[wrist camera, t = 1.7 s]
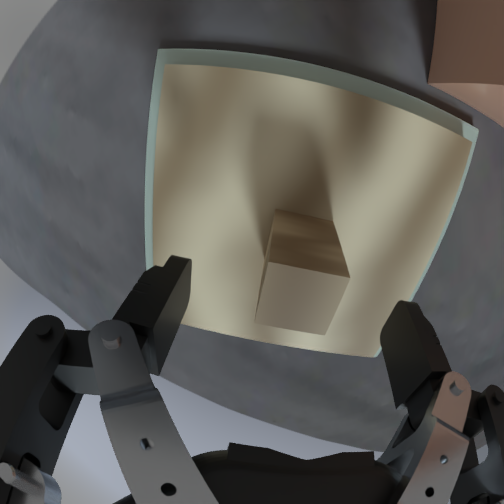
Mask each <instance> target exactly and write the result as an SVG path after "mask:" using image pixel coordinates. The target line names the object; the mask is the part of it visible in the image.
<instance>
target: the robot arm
mask: <svg viewBox="0 0 504 504" xmlns="http://www.w3.org/2000/svg"><path fill="white" fill-rule="evenodd" d="M191 273H192V260H191V259H189V258H184V257H180V256H175V255H171V256H170V257H169V258H168V260H167V261H166V263H165V265H164V266H163V267H161V266H157V265H155V266H153V267H151V268H150V269H148V270H147V271H145V272H144V273H143V274H142V276H141V277H140V279H139V280H138V283H136V284H135V286H134V287H133V290H132V291H131V292H130V293H129V295H128V296H127V298H126V299H125V301H124V302H123V304H122V305H121V307H120V308H119V310H118V311H117V313H116V314H115V316H114V317H113V319H112V320H106V321H102V322H100V323H98V324H97V325H95V326H94V327H93V328H92V330H91V331H82V330H68V329H65V327H64V325H63V322H62V321H61V320H60V319H59V318H58V317H55V316H52V315H44V316H40V317H38V318H36V319H34V320H33V321H31V322H30V323H29V325H28V326H27V328H26V329H25V330H24V332H23V333H22V335H21V336H20V338H19V339H18V340H17V342H16V343H15V345H14V346H13V348H12V349H11V351H10V352H9V354H8V355H7V357H6V359H5V360H4V362H3V363H2V365H1V366H0V504H61V490H60V487H59V485H58V483H57V482H56V481H55V479H54V478H53V477H52V474H53V471H54V468H55V465H56V462H57V459H58V457H59V453H60V450H61V448H62V446H63V443H64V440H65V438H66V435H67V433H68V430H69V428H70V425H71V423H72V420H73V418H74V415H75V413H76V411H77V408H78V406H79V404H80V401H81V399H82V396H83V395H84V394H92V395H100V397H101V401H100V408H101V411H102V415H103V419H104V422H105V425H106V428H107V432H108V435H109V438H110V441H111V443H112V447H113V449H114V452H115V455H116V458H117V460H118V463H119V465H120V468H121V470H122V473H123V475H124V478H125V480H126V482H127V485H128V487H129V489H130V491H131V494H130V495H128V496H126V497H124V498H123V499H121V500H119V501H117V502H115V503H113V504H447V503H448V501H449V498H450V501H451V504H504V392H503V391H502V390H501V389H500V388H499V387H498V386H495V385H490V386H488V387H487V388H486V389H485V390H484V391H483V392H482V393H480V392H477V391H473V390H471V387H470V385H469V383H468V381H467V380H466V378H465V377H464V376H462V375H461V374H459V373H457V372H452V370H451V368H450V365H449V363H448V360H447V358H446V356H445V353H444V351H443V348H442V346H441V345H440V341H439V339H438V337H436V336H437V335H436V333H435V330H434V328H433V326H432V325H431V323H430V322H429V321H428V320H427V319H426V318H425V316H424V315H423V313H422V311H421V309H420V307H419V305H418V304H417V303H415V302H409V301H403V300H400V301H398V302H397V304H396V305H395V307H394V309H393V310H392V312H391V314H390V316H389V317H388V319H387V321H386V323H385V324H384V326H383V328H382V330H381V333H380V344H381V348H382V351H383V355H384V359H385V363H386V367H387V371H388V375H389V380H390V384H391V388H392V393H393V397H394V402H395V407H396V409H408V413H407V414H406V415H405V416H404V418H403V419H402V421H401V423H400V425H399V427H398V429H397V431H396V433H395V435H394V436H393V438H392V440H391V442H390V443H389V445H388V447H387V449H386V450H385V452H384V453H383V454H382V456H381V457H380V458H378V460H376V461H375V460H374V451H371V452H342V453H338V454H334V455H330V456H325V457H321V458H316V459H311V460H304V459H300V458H297V457H293V456H290V455H287V454H284V453H281V452H278V451H275V450H272V449H269V448H263V447H255V446H248V445H242V444H236V443H229V446H228V449H227V450H220V451H213V452H207V453H203V454H199V455H196V456H194V457H191V456H190V454H189V452H188V450H187V449H186V447H185V445H184V443H183V441H182V439H181V437H180V435H179V433H178V431H177V429H176V427H175V425H174V423H173V421H172V419H171V416H170V414H169V412H168V410H167V408H166V405H165V403H164V401H163V399H162V397H161V395H160V392H159V391H158V389H157V388H155V386H154V384H153V382H152V380H151V377H150V373H151V374H154V375H157V376H159V375H160V372H161V370H162V367H163V365H164V362H165V360H166V357H167V355H168V352H169V350H170V347H171V345H172V343H173V340H174V338H175V335H176V333H177V331H178V328H179V326H180V323H181V321H182V319H183V316H184V314H185V312H186V309H187V307H188V303H189V299H190V292H191ZM483 430H484V432H485V437H486V441H487V445H488V456H487V458H486V460H485V461H484V462H482V463H481V464H478V458H477V452H476V447H475V442H474V437H475V436H476V435H478V434H479V433H480V432H482V431H483Z"/></svg>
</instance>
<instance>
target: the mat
mask: <svg viewBox="0 0 504 504" xmlns="http://www.w3.org/2000/svg"><path fill="white" fill-rule="evenodd" d="M165 64H180V65H203V66H217V67H228V68H237V69H246V70H253V71H260V72H267V73H273V74H279V75H284V76H289V77H294V78H299V79H304V80H308V81H313V82H317V83H321V84H325V85H329V86H333V87H336V88H340V89H344V90H347V91H351V92H354V93H357V94H360V95H364V96H367V97H370V98H373V99H376V100H379V101H381V102H384V103H387V104H390V105H392V106H395V107H398V108H400V109H403V110H405V111H408V112H410V113H413V114H415V115H418V116H420V117H422V118H425V119H427V120H429V121H431V122H434V123H436V124H438V125H440V126H442V127H444V128H446V129H448V130H450V131H452V132H454V133H456V134H458V135H460V136H462V137H464V138H466V139H468V140H470V141H471V142H472V146H471V150H470V153H469V157H468V160H467V164H466V167H465V170H464V173H463V177H462V180H461V183H460V186H459V189H458V191H457V194H456V197H455V200H454V203H453V205H452V208H451V211H450V213H449V216H448V218H447V221H446V223H445V226H444V228H443V230H442V233H441V235H440V237H439V240H438V242H437V244H436V246H435V249H434V251H433V253H432V255H431V257H430V259H429V261H428V264H427V266H426V268H425V270H424V272H423V274H422V276H421V278H420V280H419V282H418V283H417V285H416V287H415V289H414V291H413V293H412V295H411V297H410V298H409V300H408V301H409V302H411V301H412V299H413V297H414V295H415V293H416V292H417V290H418V288H419V286H420V284H421V282H422V280H423V278H424V276H425V274H426V272H427V270H428V268H429V266H430V264H431V262H432V260H433V258H434V256H435V254H436V252H437V250H438V247H439V245H440V243H441V241H442V238H443V236H444V234H445V231H446V229H447V227H448V224H449V222H450V219H451V217H452V214H453V212H454V209H455V206H456V204H457V201H458V198H459V196H460V193H461V190H462V187H463V184H464V181H465V178H466V175H467V172H468V169H469V165H470V162H471V158H472V155H473V151H474V148H475V144H476V140H477V136H478V132H479V130H478V129H477V128H475V127H473V126H472V125H470V124H468V123H466V122H464V121H463V120H461V119H459V118H457V117H455V116H453V115H451V114H449V113H447V112H445V111H443V110H441V109H439V108H437V107H435V106H433V105H431V104H429V103H427V102H424V101H422V100H420V99H418V98H415V97H413V96H411V95H408V94H406V93H403V92H401V91H398V90H396V89H393V88H390V87H388V86H385V85H382V84H379V83H377V82H374V81H371V80H368V79H365V78H362V77H358V76H355V75H352V74H348V73H345V72H341V71H338V70H334V69H330V68H327V67H323V66H318V65H314V64H310V63H305V62H301V61H296V60H290V59H285V58H279V57H273V56H267V55H260V54H253V53H244V52H235V51H224V50H209V49H158V52H157V58H156V65H155V71H154V78H153V86H152V94H151V103H150V112H149V123H148V136H147V151H146V171H145V253H146V271H147V270H148V269H150V268H151V267H153V184H154V163H155V147H156V134H157V123H158V113H159V104H160V96H161V88H162V80H163V73H164V67H165ZM381 349H382V348H381V346H380V348H379V349H378V351H377V352H376V354H375V355H374V357H377V355H378V354H379V352H380V351H381Z"/></svg>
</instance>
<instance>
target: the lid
mask: <svg viewBox="0 0 504 504" xmlns="http://www.w3.org/2000/svg"><path fill="white" fill-rule="evenodd" d="M471 146H472V142H471V141H470V140H468V139H466V138H464V137H462V136H460V135H458V134H456V133H454V132H452V131H450V130H448V129H446V128H444V127H442V126H440V125H438V124H436V123H434V122H431V121H429V120H427V119H425V118H422V117H420V116H418V115H415V114H413V113H410V112H408V111H405V110H403V109H400V108H398V107H395V106H392V105H390V104H387V103H384V102H381V101H379V100H376V99H373V98H370V97H367V96H364V95H360V94H357V93H354V92H351V91H347V90H344V89H340V88H336V87H333V86H329V85H325V84H321V83H317V82H313V81H308V80H304V79H299V78H294V77H289V76H284V75H279V74H273V73H267V72H260V71H253V70H246V69H237V68H228V67H217V66H203V65H180V64H165V67H164V73H163V80H162V88H161V96H160V104H159V113H158V123H157V134H156V147H155V163H154V184H153V266H155V265H157V266H161V267H163V266H164V265H165V263H166V261H167V260H168V258H169V257H170V256H171V255H175V256H180V257H184V258H189V259H191V260H192V273H191V292H190V299H189V303H188V307H187V309H186V312H185V314H184V316H183V319H182V321H181V323H180V324H184V325H188V326H192V327H196V328H201V329H205V330H209V331H214V332H218V333H222V334H227V335H232V336H236V337H241V338H246V339H251V340H256V341H262V342H267V343H272V344H278V345H284V346H290V347H296V348H302V349H309V350H315V351H322V352H330V353H337V354H345V355H354V356H363V357H374V355H375V354H376V352H377V351H378V349H379V348H380V346H381V344H380V333H381V330H382V328H383V326H384V324H385V323H386V321H387V319H388V317H389V316H390V314H391V312H392V310H393V309H394V307H395V305H396V304H397V302H398V301H400V300H403V301H408V300H409V298H410V297H411V295H412V293H413V291H414V289H415V287H416V285H417V283H418V282H419V280H420V278H421V276H422V274H423V272H424V270H425V268H426V266H427V264H428V261H429V259H430V257H431V255H432V253H433V251H434V249H435V246H436V244H437V242H438V240H439V237H440V235H441V233H442V230H443V228H444V226H445V223H446V221H447V218H448V216H449V213H450V211H451V208H452V205H453V203H454V200H455V197H456V194H457V191H458V189H459V186H460V183H461V180H462V177H463V173H464V170H465V167H466V164H467V160H468V157H469V153H470V150H471Z"/></svg>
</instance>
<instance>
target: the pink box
mask: <svg viewBox="0 0 504 504" xmlns="http://www.w3.org/2000/svg"><path fill="white" fill-rule="evenodd" d="M427 84H429V85H431V86H434V87H436V88H438V89H440V90H442V91H444V92H446V93H447V94H449V95H451V96H453V97H455V98H457V99H459V100H460V101H462V102H464V103H466V104H467V105H469V106H471V107H473V108H474V109H476V110H478V111H479V112H481V113H482V114H484V115H486V116H487V117H489V118H490V119H492V120H493V121H495V122H496V123H498V124H499V125H501V126H502V127H503V128H504V0H437V15H436V27H435V36H434V45H433V52H432V59H431V66H430V72H429V78H428V83H427Z"/></svg>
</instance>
